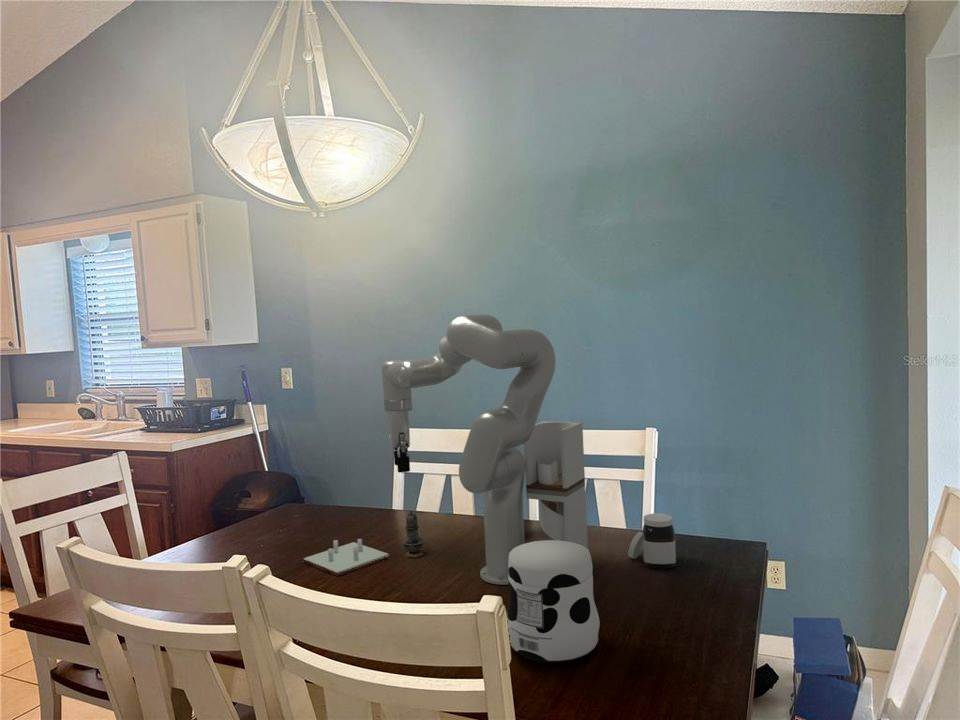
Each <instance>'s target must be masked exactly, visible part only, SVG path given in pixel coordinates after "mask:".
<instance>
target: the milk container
mask: <svg viewBox="0 0 960 720" xmlns="http://www.w3.org/2000/svg"><path fill="white" fill-rule="evenodd" d="M508 566H509V576H508V581H509V585H508V590H509V592H508V593H509V599H508V607H507V612H506V616H507V620H508V628H509V635H510V642H509V644H510V643H511V644H510V647H512V649H513V650H514V651H515V653H517V654H519V655H520V656H522V657H524V658H525V659H528V660H530V661H534V662H539V663H546V664H562V663H572V662H573V661H576V660H579V659H583V658H584V657H586V656H587V655H588V654H590V653H592V652H593V651H594V650H595V648H596V646H597V644H598V641H599V638H600V637H599V636H600V629H601V628H600V627H601V623H600V617H599V613H598V609H597V607H596V603H595V599H594V576H593V568H594V567H593V559H592V555H591V553H590V550H589V548H588V549H587V548H585V547H584V546H582V545H579V544H576V543H573V542H567V541H559V540H552V539H551V540H550V539H549V540H548V539H546V540H538V541H537V540H536V541H530V542H526V543H525V544H522V545H520V546H517V547H515V548H513V550H512V551H511V552H510V553H509V562H508Z"/></svg>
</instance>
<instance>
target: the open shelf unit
mask: <svg viewBox="0 0 960 720" xmlns="http://www.w3.org/2000/svg"><path fill="white" fill-rule="evenodd" d="M583 428H584V427H583V422H576V421H575V422H573V421H548V420H543V421H540V422H538V423H537V422H536V423H535V426H534V429H533V432H532V434H531V437H530V438H529V440H528V441H527V442H526V443H524V444H523V446H524V447H523V448H524V449H523V450H524V461H525V488H526V489H525V491H526V493H525V494H526V499H529V500H530V499H531V500H538V503H539V520H540V522H539V523H540V527H541V529H542V531H543V532H544V533H545V534H546V535H547V536H548V537H549V538H550V539H551V540H559V541H567V542H573V543H576V544H579V545H582V546H584V547H585V548H587V549H588V550H589V545H588V525H587V523H588V522H587V520H588V519H587V502H586V501H587V499H586V496H587V495H586V477H585V474H586V473H585V452H584V431H583Z"/></svg>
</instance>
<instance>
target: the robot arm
mask: <svg viewBox="0 0 960 720" xmlns="http://www.w3.org/2000/svg"><path fill="white" fill-rule="evenodd" d="M438 352H439V353H436V355H434V356H429V357H422V358H421V357H420V358H413V359H392V360H385V361H384V362H382V365H381V375H382V376H381V378H382V390H383V394H382V395H383V408H384V413H388V415H387V417H388V418H387V419H388V436H389V437H388V439H389V441H388V443H389V447H390V448H391V449H392V450H393V462H394V465H395V466H397V473H398V474H399V473H408V472H411V465H410V455H409V448H410V447H411V446H410V444H411V439H410V437H411V435H410V419H409V417H410V415H409V412H412V411H413V398H412V389H417V388H422V387H429V386H430V387H431V386H436V385H439V384H441V383H443V382H445V381H446V380H449V379H450V378H452V377H453V376H456V375H457V374H458V373H459V372H460V370H461V369H462V367H463V365H465V364H467V363H469V362H471V361H472V360H473V361H476V362H478V363H479V364H482V365H484V366H487V367H489V368H492V369H496V370H508V369H514V368H519V371H518V372H517V374H516V375H515V376H514V378H513V379H512V380H511V382H510V383H509V386H508V388H507V392H506V396H505V398H504V400H503V402H502V405H501V406H499V407H498V408H494V409H490V410H486V411H484V412H482V413H481V414H479V415H478V416H477V417H476V419H475V420H474V421H473V423H472V425H471V427H470V430H469V433H468V436H467V439H466V442H465V446H464V448H463V452H462V454H461V458H460V461H459V467H458V477H459V481H460V484H461V486H462V487H463V488H464V489H465V490H466V491H467V492H469V493H471V494H477V495H478V494H483V493H484V495H483V504H482V505H483V507H482V508H483V524H484V525H483V527H484V528H483V529H484V546H485V547H484V548H485V563H486V564H485V566H483V567H481V569H480V573H479V574H480V579H482V580H483V581H484V582H486V583H488V584H492V585H501V586H502V585H503V586H504V585H506V586H509V581H508V576H509V566H508V562H509V553H510V552H511V551H512V550H513V548H515V547H517V546H520V545H522V544H526V543H525V542H526V541H525V526H524V524H525V523H524V496H523V495H524V494H523V493H524V481H525V476H526V473H525V456H524V454H522V451H520V450H519V449H518V448H517V447H520V446H522V445H524V443H526V442H527V441H528V440H529V438H530V437H531V434H532V432H533V429H534V426H535V424H537V420H538V418H539V415H540V412H541V409H542V406H543V402H544V399H545V396H546V395H547V392H548V389H549V387H550V384H551V383H552V380H553V376H554V374H555V370H556V354H555V350H554V347H553V344H552V342H551V341H550V339H549V338H548V337H547V336H546V335H545V334H543V333H542V332H540V331H538V330H535V329H528V328H524V329H523V328H520V329H509V330H508V329H507V330H503V325H502V324H501V321H499V319H497V318H496V317H495V316H492V315H489V314H484V313H483V314H463V315H459V316H457V317H455V318H454V319H452V320H451V321H450V323H449V324H448V326H447V328H446V335H444V336H443V337H441V339H440V341H439V343H438Z"/></svg>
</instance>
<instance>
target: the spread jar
mask: <svg viewBox="0 0 960 720" xmlns="http://www.w3.org/2000/svg"><path fill="white" fill-rule="evenodd" d="M673 521H674V520H673V516H671V515H669V514H665V513H649V514H645V515H644V516H643V526H642V531H638V532H637V533H636V534H634V537H633V538H632V540H631V542H630V544H629V547H628V552H627V555H628V557H629V558H631V559H633V560H635V559H637V558H638V557H639V556H640V554H641V552H642V555H643V556H642V557H643V563H644V565H645V566H646V567H647V568H651V569H654V570H668V569H672V568H674V567H675V566H676V564H677V563H676V562H677V556H676V553H677V551H676V531H675V528H674V525H673V524H674V523H673Z"/></svg>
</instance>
